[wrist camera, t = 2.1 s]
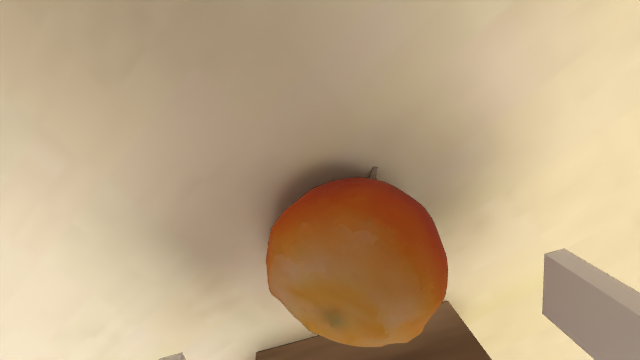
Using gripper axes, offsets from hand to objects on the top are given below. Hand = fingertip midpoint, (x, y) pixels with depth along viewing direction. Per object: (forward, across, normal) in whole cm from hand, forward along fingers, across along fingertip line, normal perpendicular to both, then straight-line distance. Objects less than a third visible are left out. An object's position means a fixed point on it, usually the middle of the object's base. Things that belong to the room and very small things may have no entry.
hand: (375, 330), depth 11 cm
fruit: (+7, 0, +1) cm, 7 cm away
